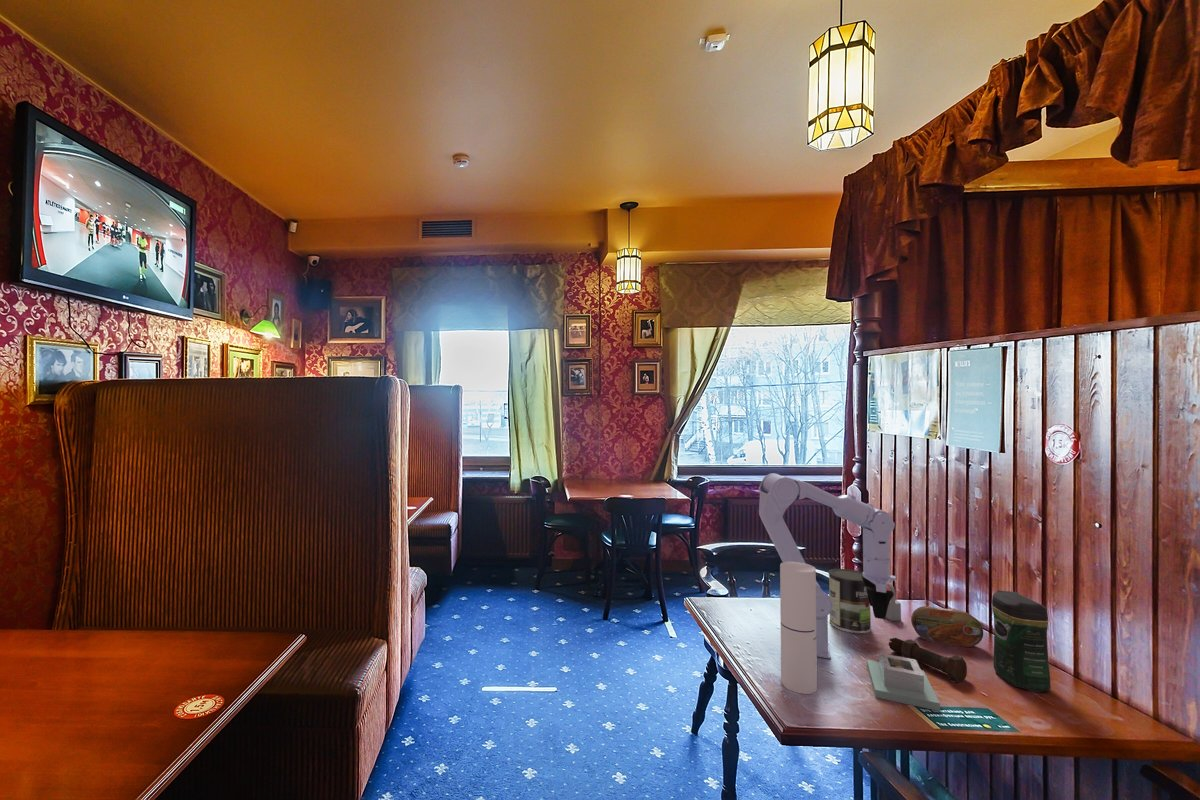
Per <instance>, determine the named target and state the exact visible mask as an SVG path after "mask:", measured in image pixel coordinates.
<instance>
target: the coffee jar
mask: <svg viewBox="0 0 1200 800" xmlns="http://www.w3.org/2000/svg"><path fill="white" fill-rule="evenodd" d="M991 608H992V614H993V625H994V626H993V633H994V634H993V662H992V663H993V670H994V671H995V672H996V673H997V674H998V676H1000V677H1001V678H1002V679H1003V680H1005V681H1007V683H1009V684H1011V685H1012V686H1014V687H1018V688H1021V689H1025V690H1028V691H1031V692H1034V693H1035V692H1037V693H1039V692H1040V693H1042V692H1047V691H1050V690H1051V673H1050V664H1049V652H1048V651H1049V650H1048V634H1047V632H1048V626H1049V615H1048V609H1047V607H1046V606H1045V605H1042V604H1041V603H1039V602H1036V601H1035V600H1033V599H1031V598H1029V597H1026V596H1025V595H1023V594H1021V593H1019V592H1018V591H1010V590H1009V591H1008V590H999V589H998V590H997V591H995V592H994V593H993V594H992V598H991Z"/></svg>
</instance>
